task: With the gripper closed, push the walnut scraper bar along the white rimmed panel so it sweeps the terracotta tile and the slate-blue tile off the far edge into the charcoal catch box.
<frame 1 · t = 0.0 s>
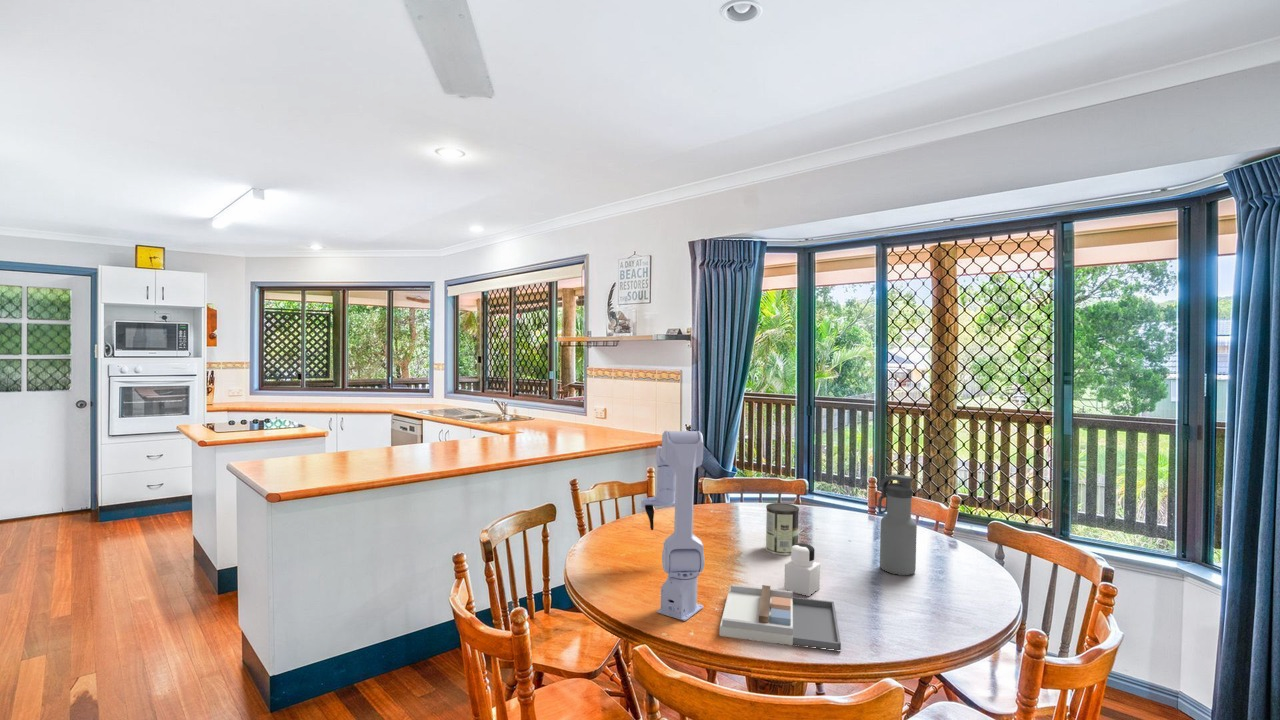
hand: (664, 528, 179), 11 cm above the table, tool pointing down, fingers open, 7 cm apart
medicine bottle: (801, 590, 162), on the table
water bottle: (896, 570, 177), on the table
catch box: (814, 626, 140), on the table
coffee can: (781, 550, 193), on the table
white rimmed panel: (758, 618, 144), on the table
tile a: (781, 607, 146), point 2 cm above the table, touching white rimmed panel
tile b: (780, 619, 139), point 2 cm above the table, touching white rimmed panel
scraper: (764, 605, 143), point 4 cm above the table, slide at 0.0 cm
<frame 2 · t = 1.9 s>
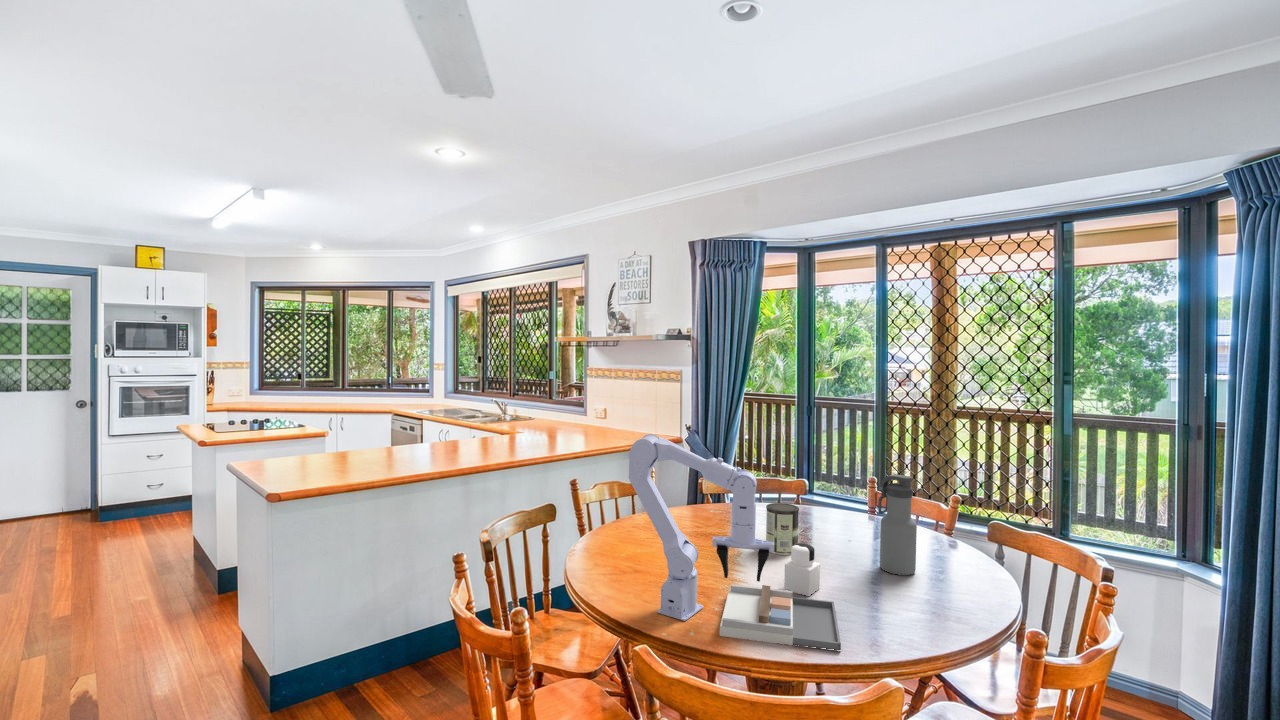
hand: (742, 578, 144), 9 cm above the table, tool pointing down, fingers open, 7 cm apart
nothing on the table moved.
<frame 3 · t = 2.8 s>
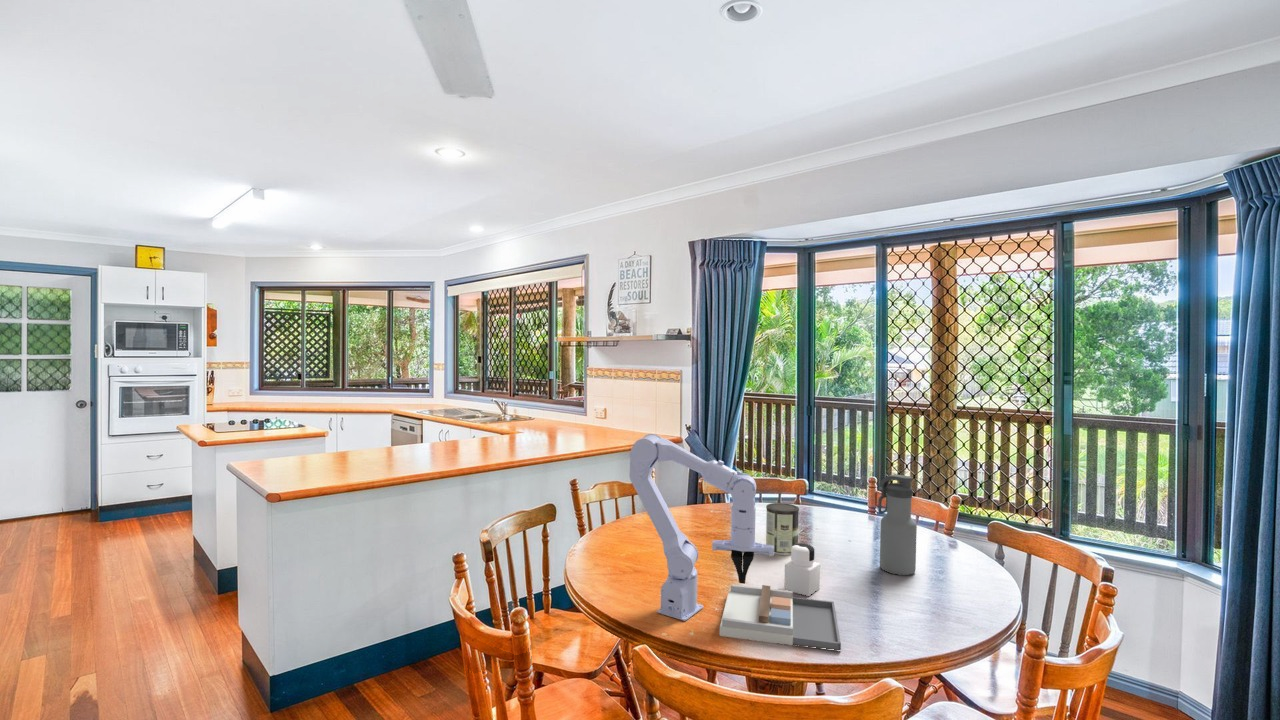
hand: (742, 581, 144), 9 cm above the table, tool pointing down, fingers closed
nothing on the table moved.
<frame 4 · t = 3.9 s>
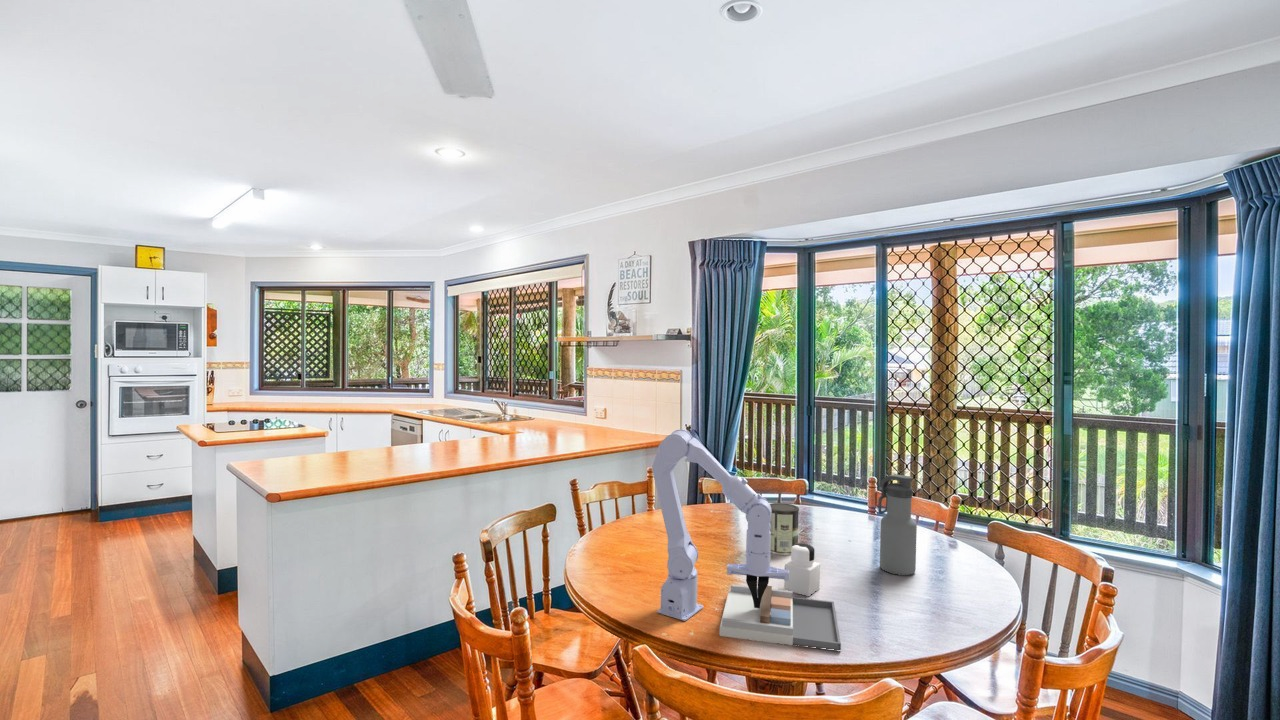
hand: (757, 606, 144), 3 cm above the table, tool pointing down, fingers closed
scraper: (766, 605, 143), point 4 cm above the table, slide at 0.3 cm, touching gripper
everything else where it was.
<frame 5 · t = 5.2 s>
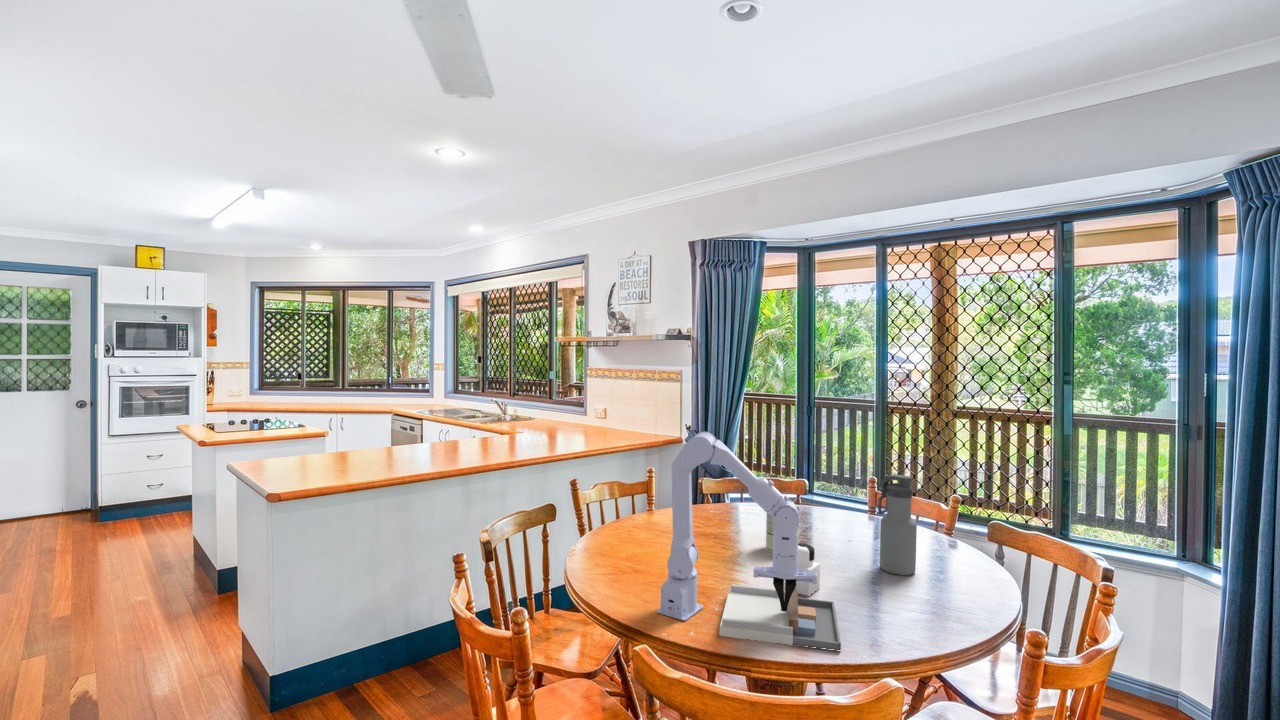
hand: (784, 609, 142), 3 cm above the table, tool pointing down, fingers closed
tile a: (805, 616, 144), resting on catch box
tile b: (804, 629, 138), resting on catch box
scraper: (793, 608, 141), point 4 cm above the table, slide at 6.6 cm, touching gripper
everything else where it was.
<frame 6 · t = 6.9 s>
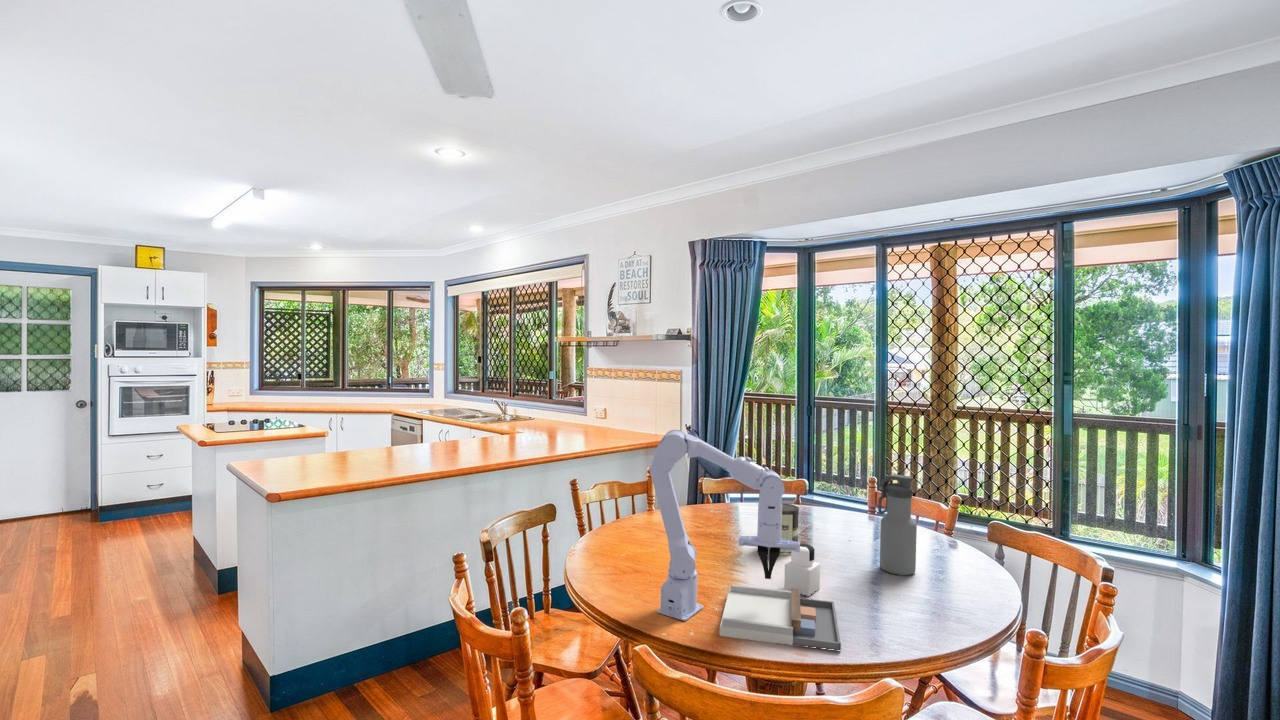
hand: (768, 577, 146), 9 cm above the table, tool pointing down, fingers closed
scraper: (795, 608, 141), point 4 cm above the table, slide at 7.2 cm
everything else where it was.
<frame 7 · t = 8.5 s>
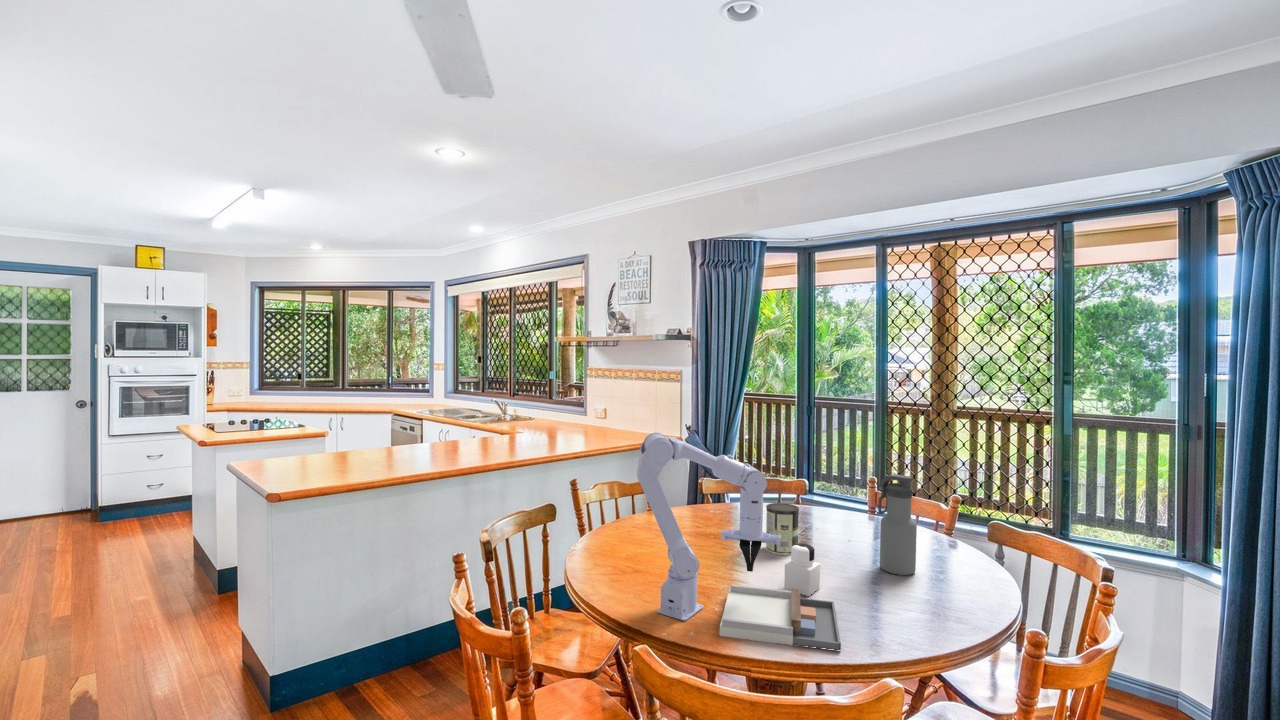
hand: (750, 570, 150), 9 cm above the table, tool pointing down, fingers closed
nothing on the table moved.
at the end: tile a inside the target area (3.4 cm from its centre), resting on catch box; tile b inside the target area (4.3 cm from its centre), resting on catch box; scraper slide at 7.2 cm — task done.
